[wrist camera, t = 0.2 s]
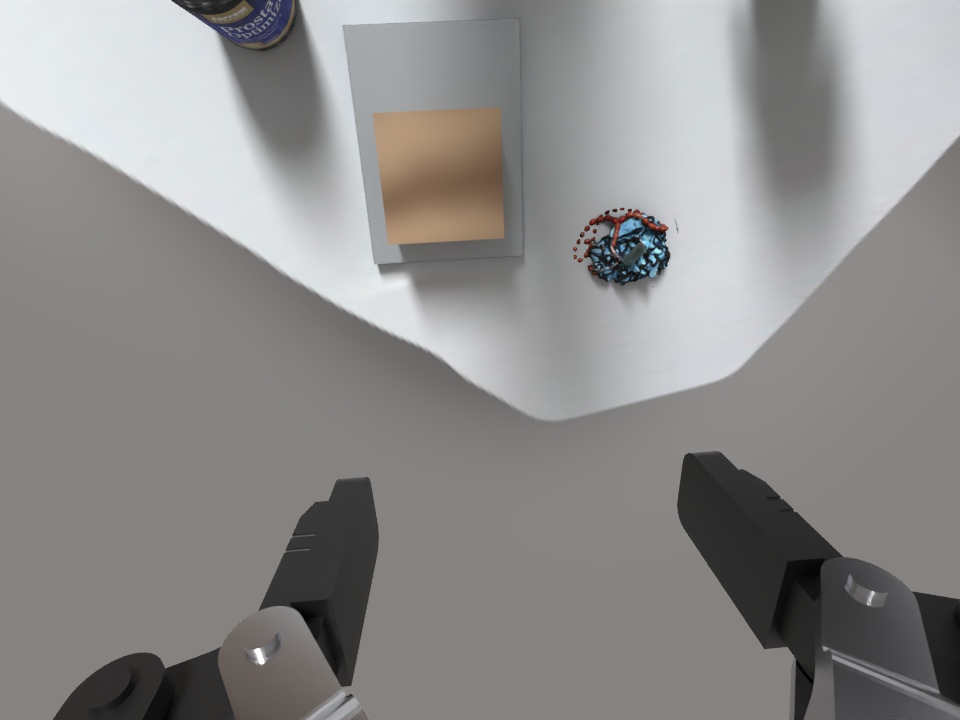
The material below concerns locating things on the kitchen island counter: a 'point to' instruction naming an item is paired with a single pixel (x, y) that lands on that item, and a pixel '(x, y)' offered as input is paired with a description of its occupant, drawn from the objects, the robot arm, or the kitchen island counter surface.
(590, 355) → the kitchen island counter surface
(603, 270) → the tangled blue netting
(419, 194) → the wooden block
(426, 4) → the kitchen island counter surface
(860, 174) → the kitchen island counter surface
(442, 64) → the build plate
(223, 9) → the pill bottle
